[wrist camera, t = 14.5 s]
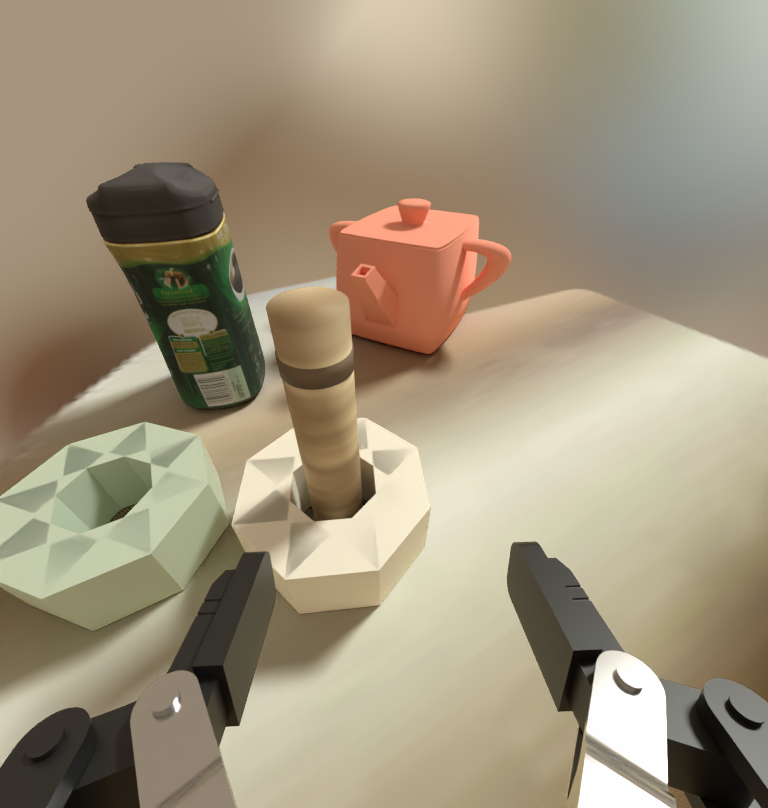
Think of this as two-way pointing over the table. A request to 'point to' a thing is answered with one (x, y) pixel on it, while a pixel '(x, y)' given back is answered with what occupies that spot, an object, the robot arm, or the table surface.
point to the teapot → (412, 272)
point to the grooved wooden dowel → (320, 394)
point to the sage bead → (111, 524)
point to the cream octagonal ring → (335, 523)
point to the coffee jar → (184, 278)
